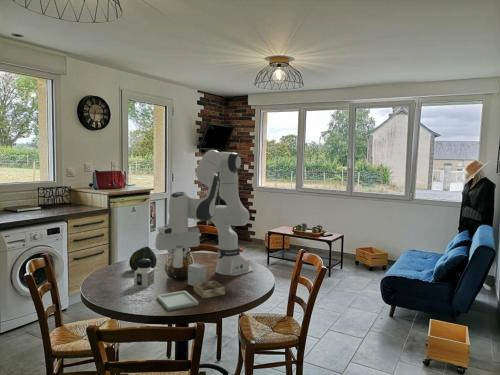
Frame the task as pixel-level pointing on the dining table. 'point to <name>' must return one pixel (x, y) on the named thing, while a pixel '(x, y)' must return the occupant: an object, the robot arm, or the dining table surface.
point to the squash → (142, 257)
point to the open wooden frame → (207, 285)
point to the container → (144, 274)
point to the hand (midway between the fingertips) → (177, 257)
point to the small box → (196, 274)
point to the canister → (178, 257)
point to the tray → (177, 300)
